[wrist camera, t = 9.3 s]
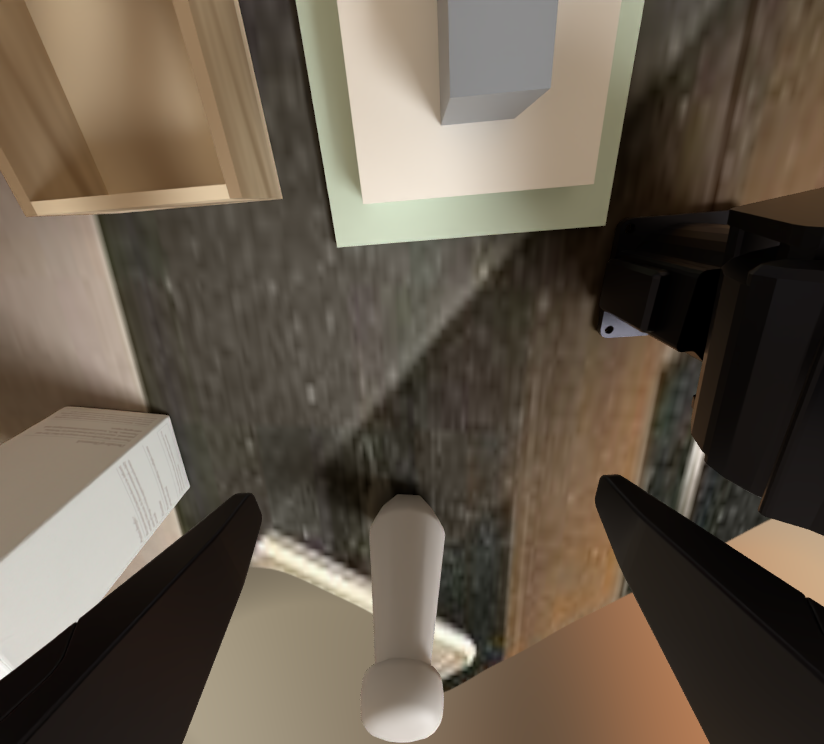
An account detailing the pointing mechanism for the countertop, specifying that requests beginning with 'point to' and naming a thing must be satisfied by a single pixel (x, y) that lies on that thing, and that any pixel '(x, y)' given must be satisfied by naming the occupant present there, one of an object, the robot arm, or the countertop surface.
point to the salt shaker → (404, 622)
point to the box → (130, 107)
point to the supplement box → (77, 516)
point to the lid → (476, 93)
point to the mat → (456, 212)
